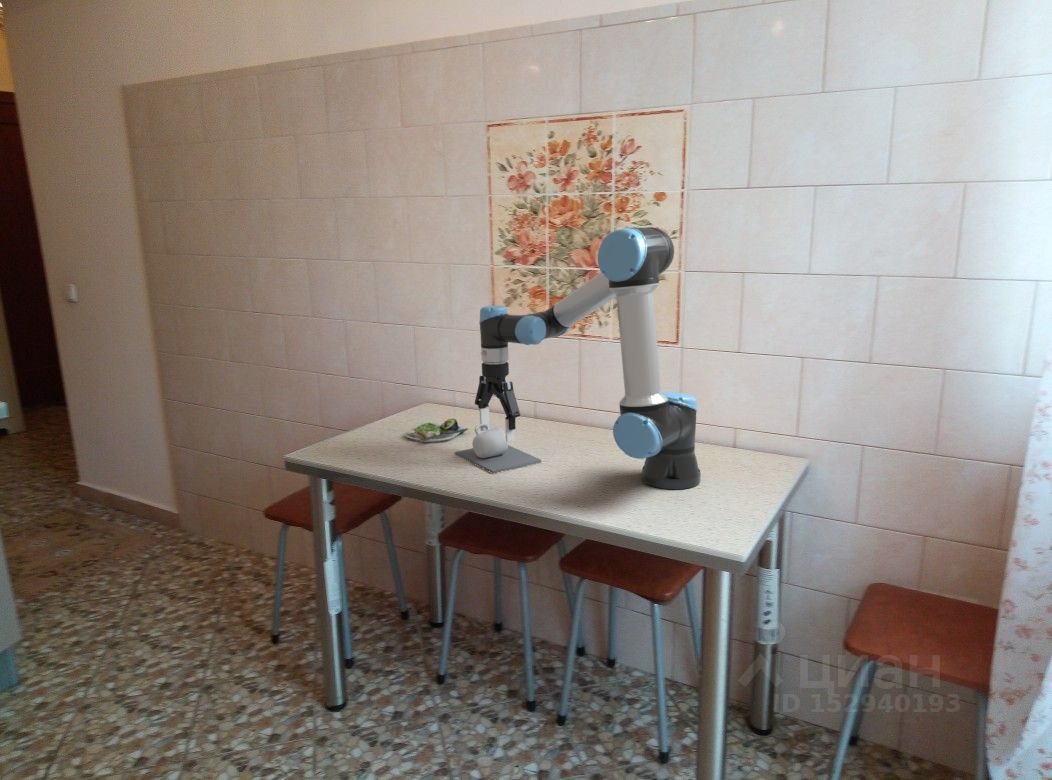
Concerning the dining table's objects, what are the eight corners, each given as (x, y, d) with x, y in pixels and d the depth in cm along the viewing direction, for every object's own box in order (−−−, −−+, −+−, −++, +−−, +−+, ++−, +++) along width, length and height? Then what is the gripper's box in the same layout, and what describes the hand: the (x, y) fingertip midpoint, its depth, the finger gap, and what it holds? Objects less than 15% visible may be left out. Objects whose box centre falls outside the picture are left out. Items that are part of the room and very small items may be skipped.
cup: (469, 421, 206) (493, 413, 210) (462, 436, 212) (485, 428, 216) (487, 452, 202) (511, 444, 206) (479, 466, 208) (503, 458, 212)
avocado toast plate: (443, 449, 220) (443, 434, 219) (393, 443, 227) (392, 429, 226) (472, 432, 238) (472, 418, 237) (424, 427, 245) (424, 413, 244)
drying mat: (541, 462, 206) (541, 459, 206) (493, 474, 197) (493, 471, 197) (501, 444, 223) (501, 442, 223) (455, 454, 214) (455, 451, 214)
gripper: (461, 357, 212) (464, 428, 216) (508, 370, 192) (510, 447, 196) (483, 354, 216) (486, 423, 221) (531, 366, 196) (533, 442, 200)
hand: (497, 435), depth 208 cm, fingers open, 13 cm apart
